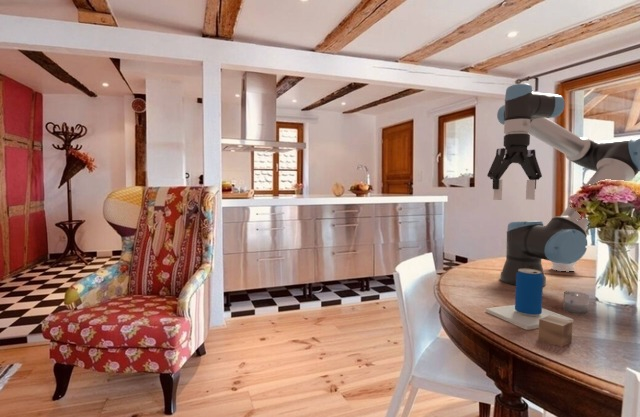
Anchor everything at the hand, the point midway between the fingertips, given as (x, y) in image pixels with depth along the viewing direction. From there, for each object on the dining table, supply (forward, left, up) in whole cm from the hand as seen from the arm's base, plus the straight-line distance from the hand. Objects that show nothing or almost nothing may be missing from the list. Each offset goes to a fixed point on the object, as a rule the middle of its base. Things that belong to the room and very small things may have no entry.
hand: (514, 199), depth 122 cm
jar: (-51, -22, -32) cm, 64 cm away
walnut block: (+19, +32, -32) cm, 49 cm away
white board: (+12, +18, -32) cm, 38 cm away
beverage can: (+12, +18, -31) cm, 38 cm away
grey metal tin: (-6, +18, -32) cm, 37 cm away
